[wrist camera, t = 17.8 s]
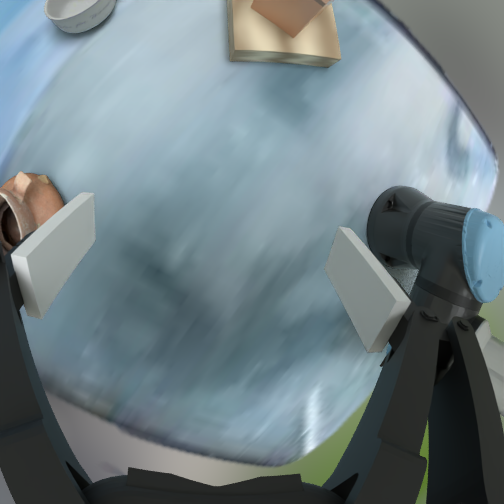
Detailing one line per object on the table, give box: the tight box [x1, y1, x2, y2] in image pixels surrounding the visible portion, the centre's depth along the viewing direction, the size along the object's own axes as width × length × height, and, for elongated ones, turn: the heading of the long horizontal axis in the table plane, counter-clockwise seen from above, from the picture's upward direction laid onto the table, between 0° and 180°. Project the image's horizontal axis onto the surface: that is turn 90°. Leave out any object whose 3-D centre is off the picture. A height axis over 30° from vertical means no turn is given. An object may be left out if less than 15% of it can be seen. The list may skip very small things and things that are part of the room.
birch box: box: [227, 0, 341, 68], centre depth 34 cm, size 16×16×5 cm
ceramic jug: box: [0, 171, 64, 256], centre depth 29 cm, size 18×14×14 cm
